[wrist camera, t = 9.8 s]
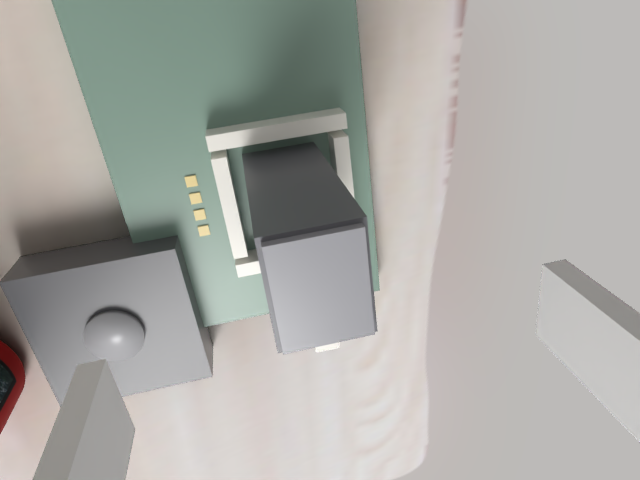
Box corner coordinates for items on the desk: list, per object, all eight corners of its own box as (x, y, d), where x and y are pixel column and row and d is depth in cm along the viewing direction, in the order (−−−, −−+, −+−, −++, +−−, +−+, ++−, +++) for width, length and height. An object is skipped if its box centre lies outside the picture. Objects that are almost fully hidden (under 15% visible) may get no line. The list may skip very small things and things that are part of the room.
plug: (241, 154, 26) (254, 243, 16) (313, 141, 27) (370, 220, 17) (260, 248, 29) (282, 375, 19) (325, 235, 29) (381, 353, 19)
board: (50, -26, 22) (29, -31, 20) (344, -63, 24) (358, -72, 21) (165, 324, 31) (161, 351, 29) (374, 281, 33) (387, 303, 30)
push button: (20, 256, 28) (-4, 286, 25) (179, 226, 29) (174, 252, 26) (75, 376, 32) (60, 415, 29) (213, 346, 33) (212, 381, 30)
